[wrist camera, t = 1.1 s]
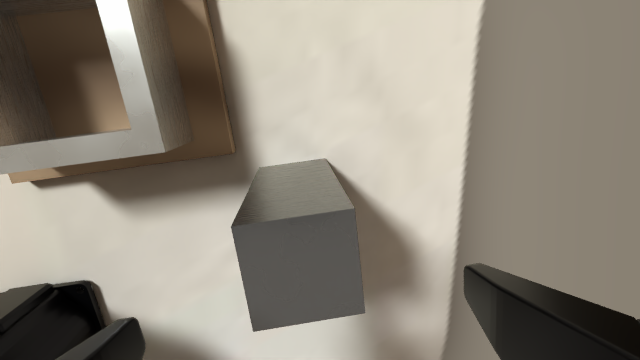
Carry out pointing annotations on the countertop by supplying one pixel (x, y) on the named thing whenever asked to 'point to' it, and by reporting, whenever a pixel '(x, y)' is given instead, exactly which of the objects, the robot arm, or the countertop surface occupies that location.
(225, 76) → the countertop surface
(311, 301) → the steel key
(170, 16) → the stand board
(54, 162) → the socket
